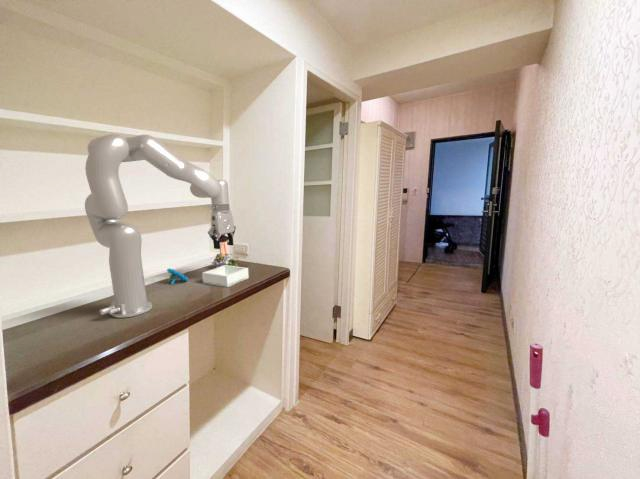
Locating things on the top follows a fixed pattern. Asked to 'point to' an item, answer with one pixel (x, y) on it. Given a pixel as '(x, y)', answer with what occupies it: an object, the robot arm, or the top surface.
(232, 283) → the bin
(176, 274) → the blue dinosaur toy
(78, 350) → the top surface
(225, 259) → the passion flower
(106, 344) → the top surface
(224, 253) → the grandmother figurine
